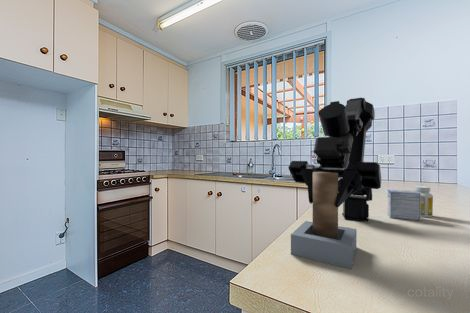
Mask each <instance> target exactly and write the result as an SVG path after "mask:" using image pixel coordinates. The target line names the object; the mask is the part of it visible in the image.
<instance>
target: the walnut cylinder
mask: <svg viewBox="0 0 470 313" xmlns="http://www.w3.org/2000/svg"><path fill="white" fill-rule="evenodd" d="M338 180H339V178H338V173H336V172H313V202H312V222H313V234H314V235H315V236H320V237H325V238H336V237H338V226H339V207H336V198H337V195H338Z"/></svg>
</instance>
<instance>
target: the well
mask: <svg viewBox="0 0 470 313" xmlns="http://www.w3.org/2000/svg"><path fill="white" fill-rule="evenodd" d="M356 251H357V228H352V227H345V226H340V225H338V237H336V238H325V237H320V236H315V235H314V234H313V221H309V220H305V221H304V222H302V224H300V225H299V227H297V228H296V229H295V230H294V231H293V232H292V233H291V234H290V255H293V256H298V257H301V258H306V259H310V260H315V261H317V262H321V263H326V264H330V265H335V266H338V267H342V268H347V269H351V270H352V268H353V264H354V259H355V254H356Z"/></svg>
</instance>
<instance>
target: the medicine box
mask: <svg viewBox="0 0 470 313" xmlns="http://www.w3.org/2000/svg"><path fill="white" fill-rule="evenodd" d="M387 215H388V216H389V218H390V219H400V220H411V221H421V219H422V217H421V193H419V192H417V191H415V190H409V189H408V190H407V189H406V190H405V189H387Z"/></svg>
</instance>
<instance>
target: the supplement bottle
mask: <svg viewBox="0 0 470 313" xmlns="http://www.w3.org/2000/svg"><path fill="white" fill-rule="evenodd" d="M414 191H417V192H419V193H421V218H432V217H433V212H434V210H433V209H434V208H433V206H434V205H433V204H434V203H433V202H434V196H433V194H432V193H430V192H431V187H430V186H424V185H416V186H414Z"/></svg>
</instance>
